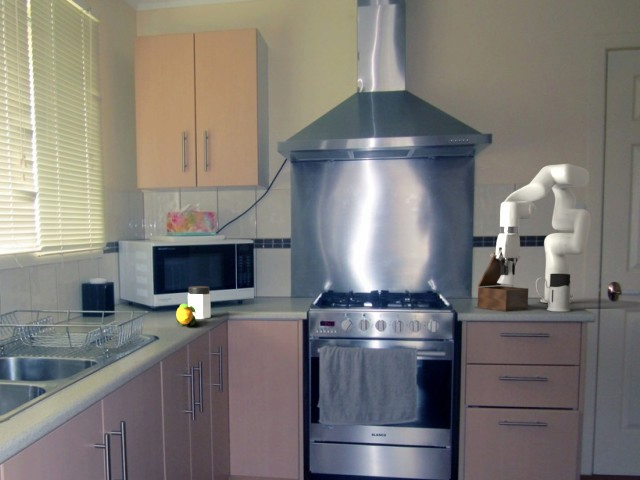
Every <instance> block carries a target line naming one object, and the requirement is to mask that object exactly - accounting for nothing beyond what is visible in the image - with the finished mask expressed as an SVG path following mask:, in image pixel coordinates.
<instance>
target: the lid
mask: <svg viewBox="0 0 640 480" xmlns="http://www.w3.org/2000/svg"><path fill="white" fill-rule="evenodd" d="M489 256H490V258H491V259H490V261H489V263H488V265H487V267H486V269H485V270H484V272H483V274H482V276H481V278H480V280H479V282H478V284H477V288H478V287H491V286H502V284H499V283H497V282H498V280H499V278H500V276H501V274H500V273H501V266H500V263H499V261H498V260H497V259H496V257H497V255H496V252H491V253H490V254H489ZM503 258H504V257H503ZM512 260H513V259H512ZM504 261H505V260H504ZM508 261H509V258H508Z"/></svg>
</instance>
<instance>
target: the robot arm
mask: <svg viewBox="0 0 640 480" xmlns="http://www.w3.org/2000/svg"><path fill="white" fill-rule="evenodd" d="M589 173H590V172H589V171H588V170H587V169H586V168H585V167H582V166H578V165H574V164H570V163H559V164H549V165H545V166H544V167H542V168H541V169H540V170H539V171H538V172H537V174H536V175H535V176H534V178H533V179H532V180H531V181H530V182H529V183H528V184H526V185H524V186H522V187H520V188H519V189H517V190H515V191H513V192H512V193H510V194H508V196H507V197H506V199H505V200H504V201H502V202H501V203H500V208H499V214H500V216H499V234H498V235H497V239H496V244H495V253H496V255H497V257H496V259H497V260H498V261H499V263H500V266H501V273H500V274H501V275H508V266H507V261H508V258H509V261H512V262H513V264H512V273H513V276H514V275H516V274H515V273H516V265H517V262H518V261H519V260H520V259H521V256H520V254H521V239H520V220H529V219H531V218H533V217H534V216H535V215H536V213H537V206H536V205H535V203H534V202H537V201H538V200H542V199H544V198H545V197H546V196H547V195H548V193H549V192H550V191H551V190H552V192H553V195H554V201H555V202H554V205H553V213H552V218H551V226H552V228H553V229H554V230H555V231H567V232H552V233H550V234H548V235H546V237H545V238H544V242H543V247H544V253H545V271H544V272H545V274H544V278H545V279H546V281H547V287H549V286H550V274H570V270H569V269H570V263H569V260H568V258H567V257H566V255H570V256H571V255H573V256H575V255H576V256H577V255H582V254H583V253H584V252H585V251H586V249H587V245H588V241H589V235H590V230H591V224H592V218H591V214H590V212H589V211H588V210H586V209H584V208H576V205H577V198H576V195H575V193H574V192H573V191H572V189H576V188H577V189H579V188H584V187H585V186H587V185H588V183H589V182H590V174H589ZM568 231H569V232H568ZM570 231H571V232H570ZM503 257H504V258H503ZM512 259H513V260H512ZM504 260H505V261H504ZM547 287H546V282H545V281H544V292H543V293H544V294H543V295H544V296H543V298H544V299H545V300H547V301H548V302H549V288H547ZM573 297H574V294H573V293H571V292H570V303H569V304H571V303H572V300H571V298H573ZM544 299H542V298H541V299H540V303H542V304H543V303H544V304H548V303H547V302H546V301H545V300H544Z"/></svg>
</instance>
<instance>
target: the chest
mask: <svg viewBox="0 0 640 480" xmlns="http://www.w3.org/2000/svg"><path fill="white" fill-rule="evenodd" d="M477 308H478V309H485V310H492V311H493V310H494V311H500V312H501V311H502V312H511V311H512V312H513V311H524V310H528V308H529V288H528V287H517V286H508V285H497V286H483V287H478V286H477Z"/></svg>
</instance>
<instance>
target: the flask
mask: <svg viewBox="0 0 640 480" xmlns="http://www.w3.org/2000/svg"><path fill="white" fill-rule="evenodd" d="M512 264H513V262H512V261H507V266H508V275H501V276H500V278H499V280H498V282H497V283H499V284H501V285H503V286H515V279H514V275H513V273H512Z"/></svg>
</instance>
